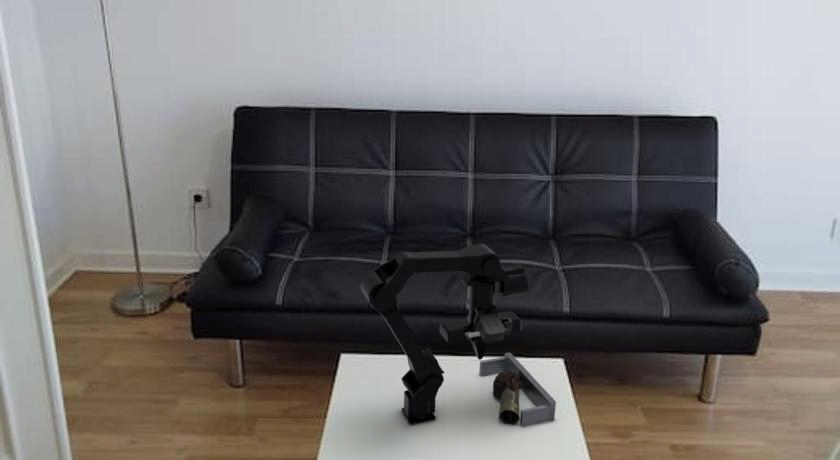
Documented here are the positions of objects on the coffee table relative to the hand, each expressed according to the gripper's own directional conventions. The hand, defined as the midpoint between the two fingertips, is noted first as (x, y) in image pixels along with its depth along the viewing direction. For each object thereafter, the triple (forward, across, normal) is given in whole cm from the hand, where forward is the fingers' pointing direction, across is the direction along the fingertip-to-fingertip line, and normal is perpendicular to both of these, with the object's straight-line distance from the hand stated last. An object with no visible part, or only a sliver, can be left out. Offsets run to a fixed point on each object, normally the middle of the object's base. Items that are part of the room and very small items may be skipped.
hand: (479, 358), depth 184 cm
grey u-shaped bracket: (+12, +10, 0) cm, 16 cm away
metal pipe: (+13, +7, -2) cm, 15 cm away
